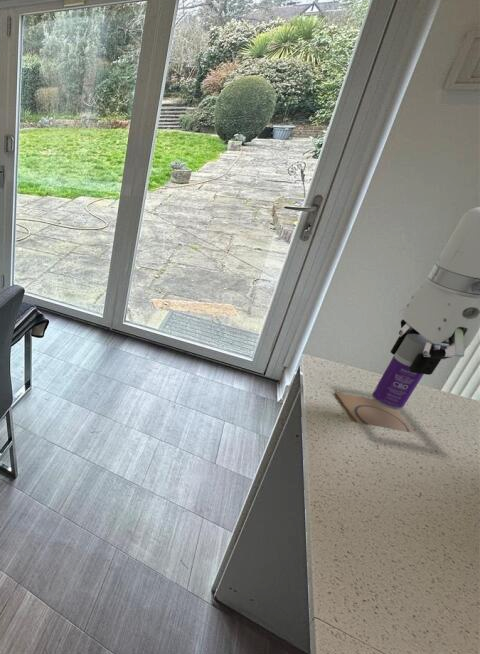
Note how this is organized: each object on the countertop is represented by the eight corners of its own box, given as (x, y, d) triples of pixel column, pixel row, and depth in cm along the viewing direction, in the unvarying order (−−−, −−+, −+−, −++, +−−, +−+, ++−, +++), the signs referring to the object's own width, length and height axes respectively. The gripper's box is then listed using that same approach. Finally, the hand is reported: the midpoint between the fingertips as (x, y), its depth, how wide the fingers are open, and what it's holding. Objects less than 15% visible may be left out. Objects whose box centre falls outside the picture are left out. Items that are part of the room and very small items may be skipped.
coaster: (388, 403, 89) (389, 401, 88) (434, 456, 77) (435, 454, 76) (334, 393, 91) (335, 391, 91) (371, 443, 79) (372, 441, 79)
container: (380, 407, 81) (416, 345, 74) (366, 391, 85) (399, 331, 79) (408, 411, 80) (448, 349, 73) (393, 395, 84) (428, 334, 78)
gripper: (535, 307, 62) (469, 397, 70) (451, 262, 77) (404, 341, 85) (473, 300, 64) (415, 389, 72) (402, 257, 78) (361, 335, 87)
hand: (410, 362), depth 78 cm, fingers closed on container, 4 cm apart
